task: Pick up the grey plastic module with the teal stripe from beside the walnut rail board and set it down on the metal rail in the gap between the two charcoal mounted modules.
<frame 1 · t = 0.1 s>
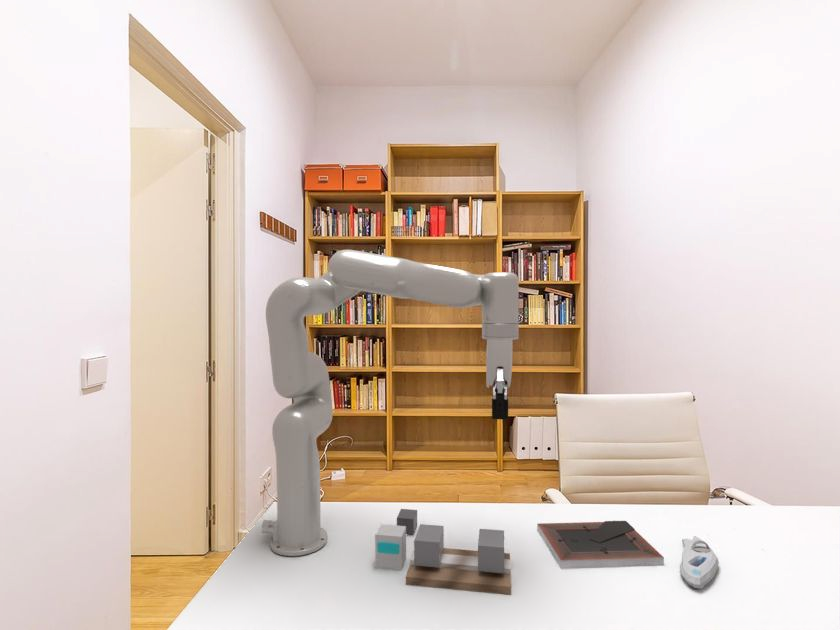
hand: (500, 413, 101), 31 cm above the table, tool pointing down, fingers open, 9 cm apart
picture frame: (596, 550, 107), on the table
rail board: (460, 571, 97), on the table
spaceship: (693, 565, 100), on the table
grey rectangular block: (407, 530, 115), on the table
mounted modules: (460, 547, 97), on the rail board, point 5 cm above the table
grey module: (391, 563, 101), on the table
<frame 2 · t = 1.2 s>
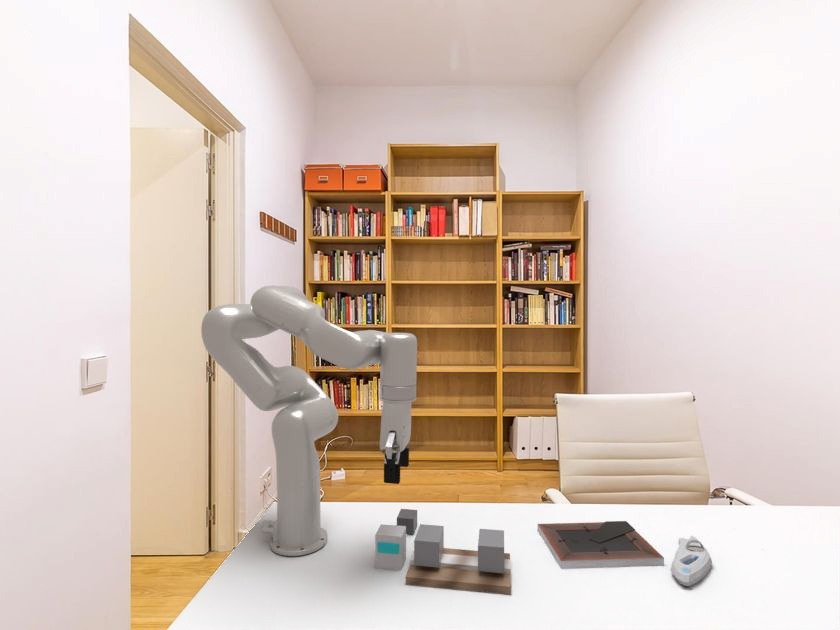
hand: (396, 474, 100), 19 cm above the table, tool pointing down, fingers open, 9 cm apart
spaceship: (686, 564, 101), on the table
everything else where it was.
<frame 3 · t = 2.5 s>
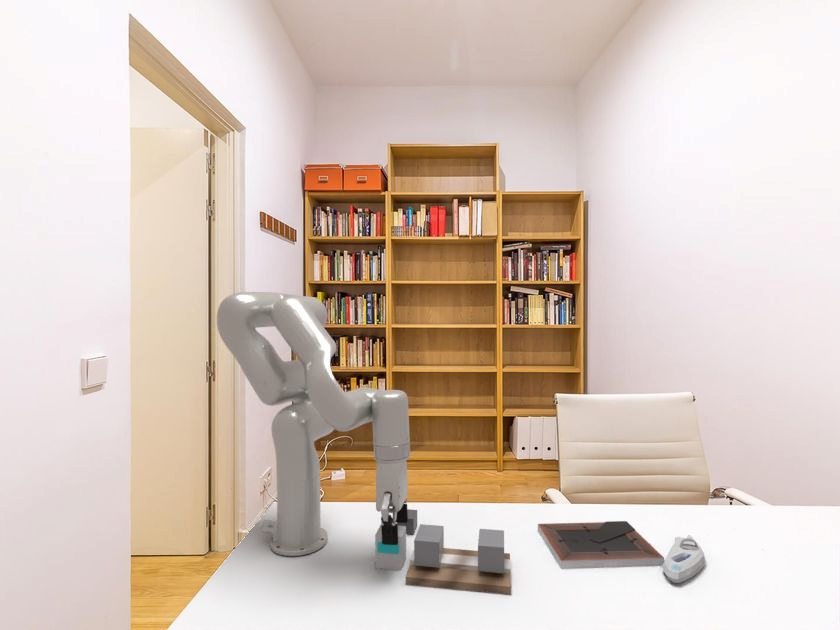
hand: (395, 532, 100), 7 cm above the table, tool pointing down, fingers open, 9 cm apart
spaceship: (680, 562, 102), on the table
everything else where it was.
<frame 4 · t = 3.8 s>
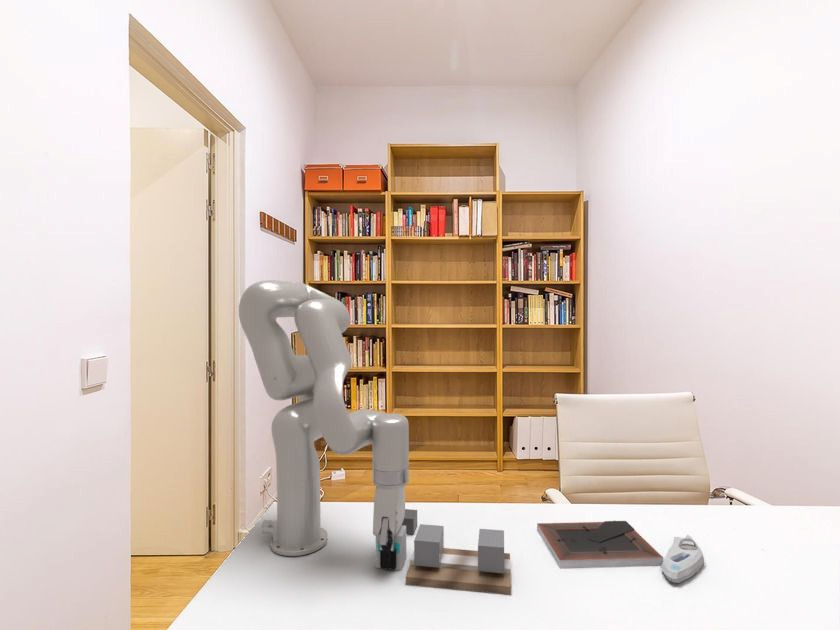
hand: (391, 560, 101), 1 cm above the table, tool pointing down, fingers closed on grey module, 4 cm apart
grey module: (391, 562, 101), on the table, touching gripper
everything else where it was.
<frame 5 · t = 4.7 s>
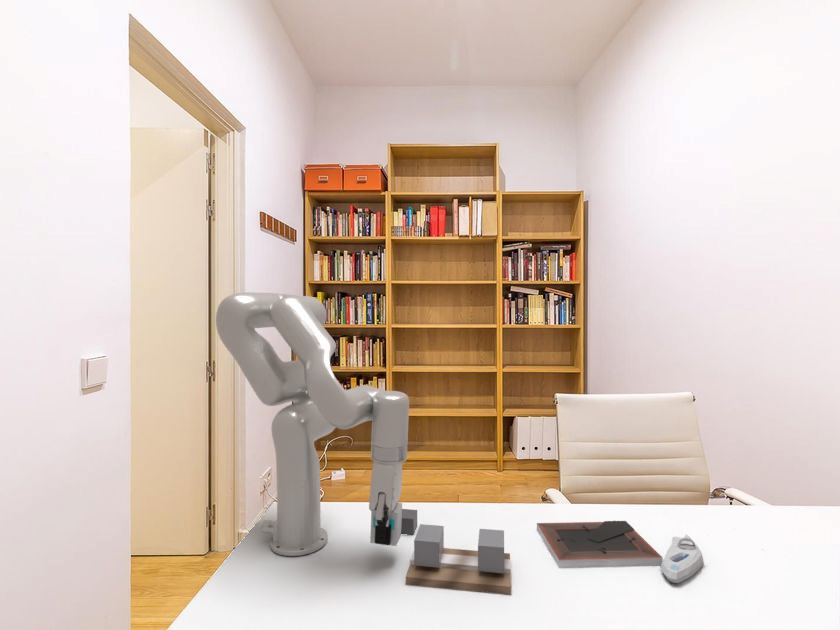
hand: (385, 536, 101), 5 cm above the table, tool pointing down, fingers closed on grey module, 4 cm apart
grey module: (385, 538, 101), point 5 cm above the table, touching gripper
everything else where it was.
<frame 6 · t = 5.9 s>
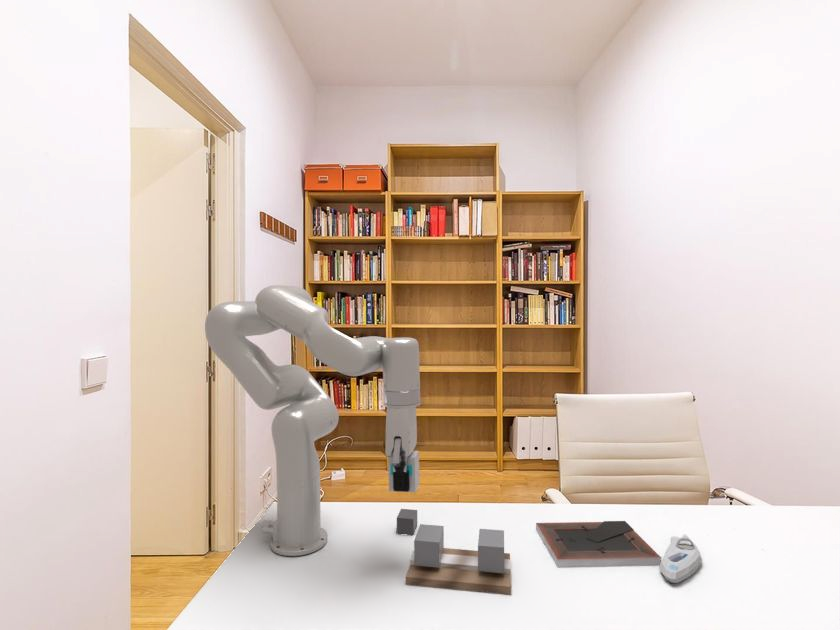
hand: (404, 484, 99), 17 cm above the table, tool pointing down, fingers closed on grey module, 4 cm apart
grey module: (404, 487, 100), point 16 cm above the table, touching gripper
everything else where it was.
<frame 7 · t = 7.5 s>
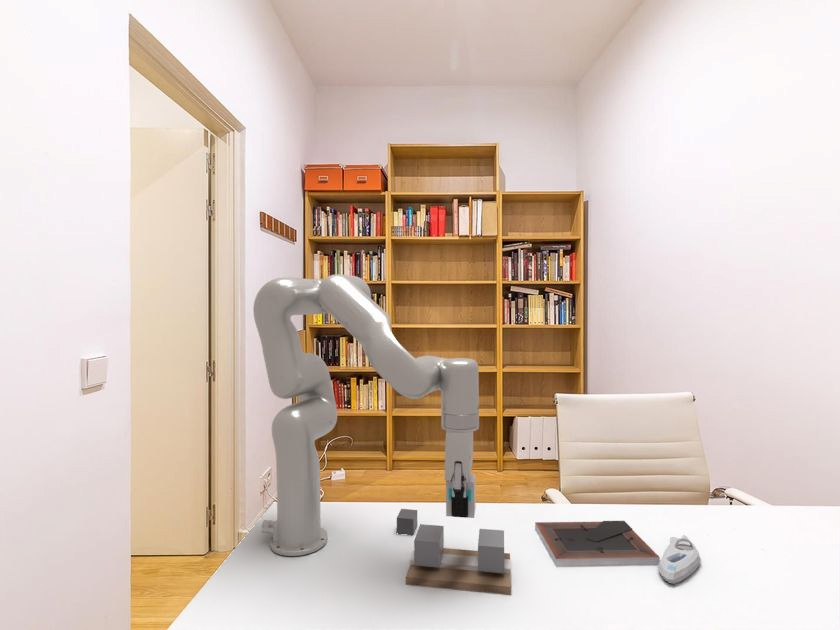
hand: (461, 509, 97), 13 cm above the table, tool pointing down, fingers closed on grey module, 4 cm apart
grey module: (461, 512, 97), point 12 cm above the table, touching gripper
everything else where it was.
when the fingers open (4 cm above the table, at t = 9.3 s): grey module drops 1 cm, resting on rail board.
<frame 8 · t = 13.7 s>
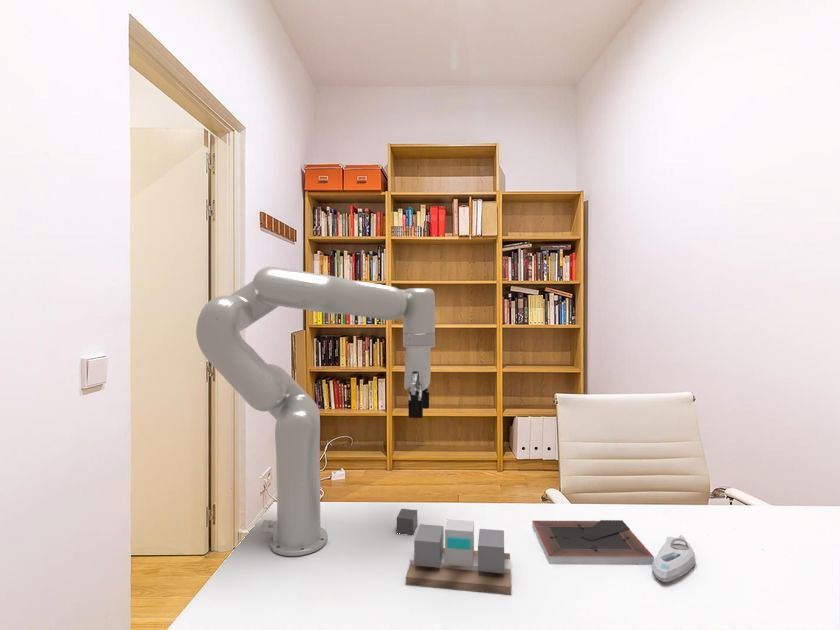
hand: (419, 412, 114), 28 cm above the table, tool pointing down, fingers open, 9 cm apart
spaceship: (670, 562, 102), on the table
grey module: (459, 559, 97), point 2 cm above the table, touching rail board
at the end: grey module 0.1 cm off-centre on the rail board, point 2.5 cm above the rail board's base; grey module tilted 0°; the gripper is holding nothing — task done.
